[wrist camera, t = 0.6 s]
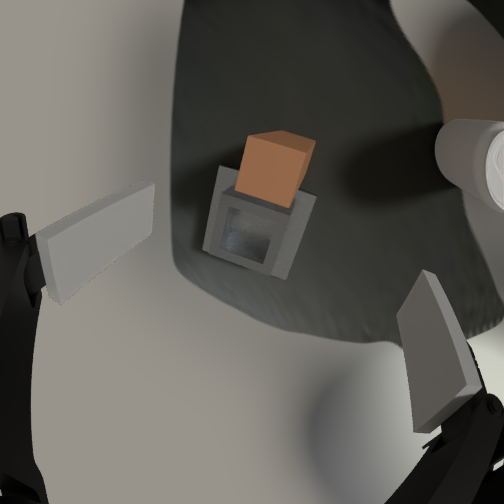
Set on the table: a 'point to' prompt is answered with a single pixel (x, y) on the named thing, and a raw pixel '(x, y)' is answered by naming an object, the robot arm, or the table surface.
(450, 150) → the beverage can
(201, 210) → the table surface
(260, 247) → the grey square socket
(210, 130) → the table surface
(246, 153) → the orange square peg
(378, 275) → the table surface
